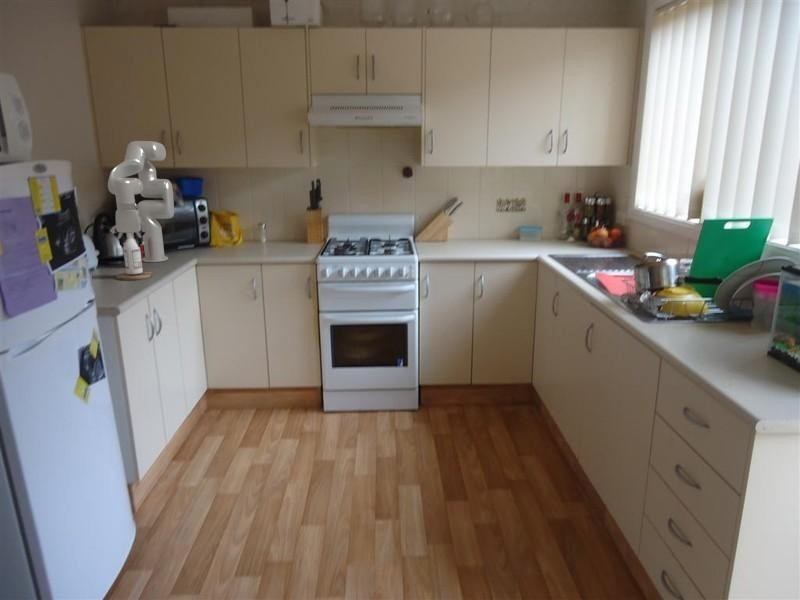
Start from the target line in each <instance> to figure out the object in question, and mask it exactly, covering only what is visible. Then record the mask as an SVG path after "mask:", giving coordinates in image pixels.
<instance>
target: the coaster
mask: <svg viewBox="0 0 800 600" xmlns="http://www.w3.org/2000/svg"><path fill="white" fill-rule="evenodd" d="M152 277H153V272H152V271H148V270H143V272H142V273H140V274H127V273H126V271H125V272H121V273H118V274H117V275H116V279H117V280H119V281H124V282H125V281H126V282H127V281H128V282H130V281H141V280H148V279H150V278H152Z"/></svg>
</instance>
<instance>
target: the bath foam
mask: <svg viewBox="0 0 800 600" xmlns="http://www.w3.org/2000/svg"><path fill="white" fill-rule="evenodd" d="M125 234H126V239H125V242H124V246H123V247H122V250H123V259H124V265H125V272H126V273H127V274H140V273H142V272H143V271H144V270H143V261H141V252H140V247H139V245H138V242H137V241H138V240H136V238H135V236H134V233H125Z"/></svg>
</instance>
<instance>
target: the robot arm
mask: <svg viewBox="0 0 800 600" xmlns="http://www.w3.org/2000/svg"><path fill="white" fill-rule="evenodd" d="M166 150H167V149H166V147H165V146H164V144H162V143H161V142H157V141H151V140H134V141H131V142H129V143H128V144H127V147H126V152H125V157H124V160H123V162H120V163H119V164H117V165H116V166H114V168H112V170H111V171H110V173H109V177H108V179H107V180H108V182H107V189H108V191H109V192H110V194H112V195H115V201H116V208H117V209H116V210H115V225H113V227H112V228H111V229H110V230H109V232H110V233H111V234H112V235H113V236H114V237H116V238H117V239H118V243H119V246H120V247H121V248H123V246H124V243H125V242H124V237H123V235H124V233H125V234H126V233H133V234H134V233H135V234H136V236H137V241H138V245H139V247H141V245H142V242H144V245H143V252H144V257H143V259H142V262H144V263H159V262H164V261H167V260H169V257H168V256H167V255H165V249H164V239H163V232H162V230H163V229H162V226H161V224H160V222H159V221H158V220H159V219H160V220H161V219H162V220H163V219H164V220H165V219H166V220H167V219H172V218H173V217H174V215H175V204H174V190H173V184H172V182H171V181H170V180H169V179H166V178H157V169H156V167H155V166H154V164H152V162H153V161H155V162H158V161H159V162H161V161H164V160H165V159H166V157H167V151H166ZM151 161H152V162H151ZM136 174H138V178H137V177H131V176H133V175H136ZM139 194H140V195H141V197H143V198H148V199H147V200H146V199H145V200H142V201H140V202H138V204H137V203H136V199H135V196H136V195H139ZM149 198H153V200H152V199H151V200H149ZM154 198H156V199H154ZM157 198H162V199H161V200H160V199H159V200H158V199H157Z"/></svg>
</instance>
